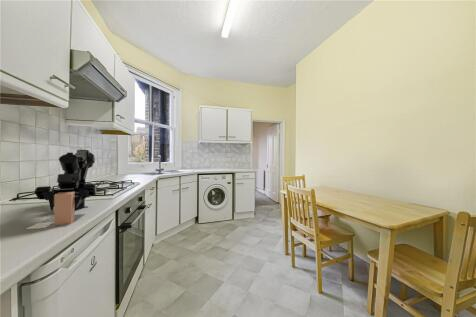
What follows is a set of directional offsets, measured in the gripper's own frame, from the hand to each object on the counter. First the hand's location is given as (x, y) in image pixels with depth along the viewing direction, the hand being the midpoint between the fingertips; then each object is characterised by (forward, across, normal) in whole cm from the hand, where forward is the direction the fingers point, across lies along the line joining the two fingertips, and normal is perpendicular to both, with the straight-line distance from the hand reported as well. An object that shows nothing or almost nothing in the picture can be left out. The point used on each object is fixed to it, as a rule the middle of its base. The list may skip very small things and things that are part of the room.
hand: (63, 208), depth 73 cm
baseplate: (+2, -3, +8) cm, 8 cm away
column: (+3, 0, +5) cm, 6 cm away
